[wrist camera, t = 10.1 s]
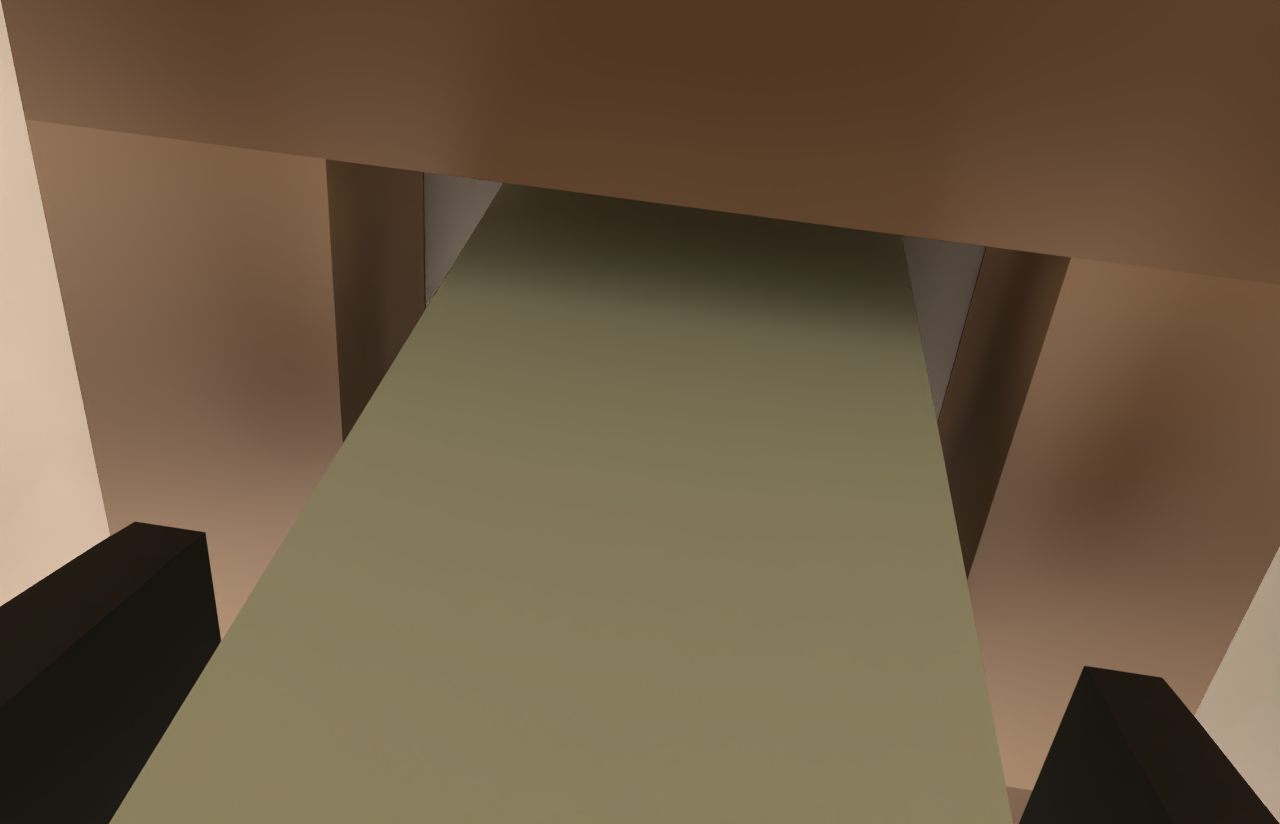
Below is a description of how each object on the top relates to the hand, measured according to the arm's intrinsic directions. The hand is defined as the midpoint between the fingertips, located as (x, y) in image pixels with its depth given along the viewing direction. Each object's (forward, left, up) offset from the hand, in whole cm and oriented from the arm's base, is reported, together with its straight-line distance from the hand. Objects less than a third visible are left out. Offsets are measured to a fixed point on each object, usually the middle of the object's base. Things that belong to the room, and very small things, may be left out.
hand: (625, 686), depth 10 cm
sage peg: (0, 0, -6) cm, 6 cm away
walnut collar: (0, 0, -6) cm, 6 cm away
